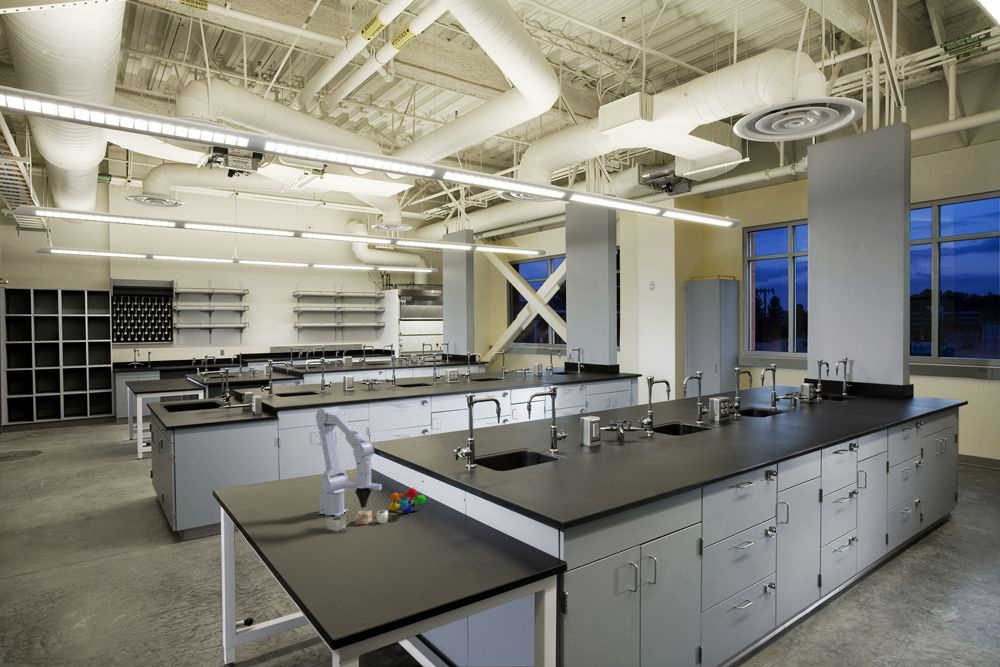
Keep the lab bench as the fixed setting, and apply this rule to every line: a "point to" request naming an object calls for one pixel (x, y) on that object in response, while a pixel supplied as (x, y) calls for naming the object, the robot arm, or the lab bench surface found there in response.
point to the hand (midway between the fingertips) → (363, 506)
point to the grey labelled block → (336, 523)
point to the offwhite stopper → (382, 516)
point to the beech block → (363, 517)
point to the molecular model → (407, 504)
